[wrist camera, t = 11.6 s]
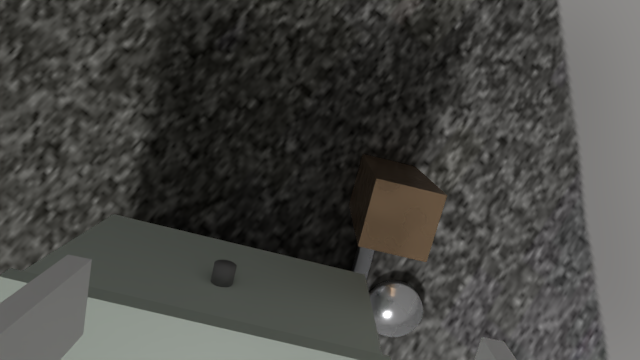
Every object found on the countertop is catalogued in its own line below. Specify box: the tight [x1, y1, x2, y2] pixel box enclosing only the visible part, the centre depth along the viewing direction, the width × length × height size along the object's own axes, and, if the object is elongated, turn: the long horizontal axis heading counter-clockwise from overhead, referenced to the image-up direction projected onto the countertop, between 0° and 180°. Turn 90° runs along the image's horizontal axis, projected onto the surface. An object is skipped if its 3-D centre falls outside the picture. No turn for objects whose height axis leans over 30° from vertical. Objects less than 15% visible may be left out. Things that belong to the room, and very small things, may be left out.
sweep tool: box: [349, 154, 447, 279], centre depth 34 cm, size 15×4×10 cm, turn 166°
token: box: [369, 280, 423, 337], centre depth 40 cm, size 5×5×1 cm
